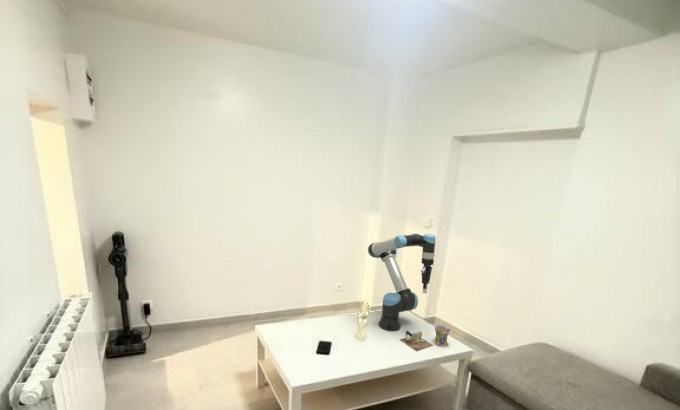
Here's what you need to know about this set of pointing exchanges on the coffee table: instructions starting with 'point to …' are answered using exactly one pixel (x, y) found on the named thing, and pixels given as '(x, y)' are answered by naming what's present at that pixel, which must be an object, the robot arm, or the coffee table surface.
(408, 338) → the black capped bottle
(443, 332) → the mug
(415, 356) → the coffee table surface
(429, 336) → the coffee table surface
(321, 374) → the coffee table surface
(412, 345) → the brown picture tile
